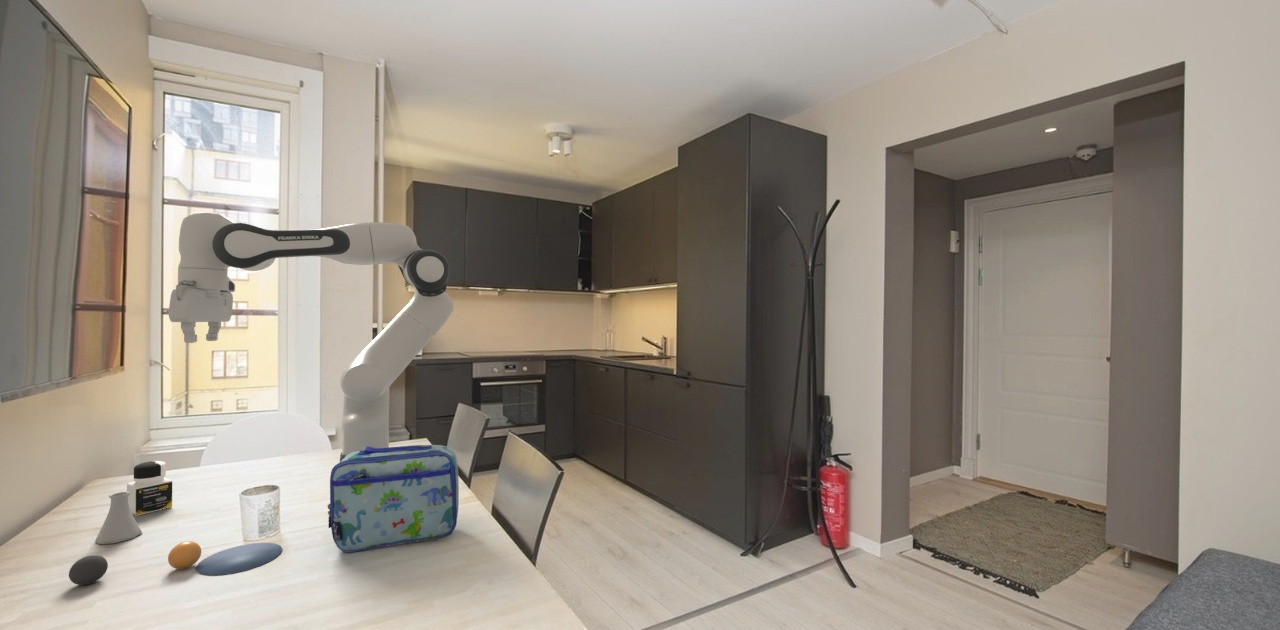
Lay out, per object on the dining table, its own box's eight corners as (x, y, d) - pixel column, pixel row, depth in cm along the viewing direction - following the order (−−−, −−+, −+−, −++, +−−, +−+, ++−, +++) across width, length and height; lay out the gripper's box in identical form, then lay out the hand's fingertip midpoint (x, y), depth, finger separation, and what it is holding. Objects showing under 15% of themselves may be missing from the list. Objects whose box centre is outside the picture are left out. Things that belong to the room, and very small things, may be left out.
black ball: (112, 574, 100) (113, 548, 100) (100, 586, 96) (100, 559, 96) (77, 580, 98) (77, 553, 98) (62, 592, 93) (62, 565, 94)
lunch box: (323, 558, 107) (324, 457, 107) (337, 537, 118) (338, 444, 118) (456, 543, 115) (457, 448, 115) (459, 524, 125) (459, 437, 125)
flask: (112, 546, 112) (112, 500, 112) (86, 543, 114) (87, 498, 114) (150, 533, 119) (150, 489, 119) (125, 530, 121) (125, 487, 121)
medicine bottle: (135, 516, 129) (135, 468, 129) (126, 510, 133) (126, 463, 133) (172, 507, 135) (173, 461, 135) (162, 502, 139) (163, 457, 139)
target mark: (287, 539, 116) (287, 538, 116) (275, 566, 104) (275, 565, 104) (208, 551, 110) (208, 550, 110) (185, 581, 98) (185, 580, 98)
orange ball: (204, 559, 106) (204, 535, 106) (196, 570, 102) (196, 544, 102) (173, 564, 104) (173, 539, 104) (163, 575, 100) (163, 549, 100)
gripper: (195, 279, 112) (193, 343, 112) (238, 285, 131) (237, 340, 131) (159, 278, 110) (158, 343, 110) (208, 284, 129) (207, 340, 129)
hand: (201, 341), depth 121 cm, fingers open, 8 cm apart
